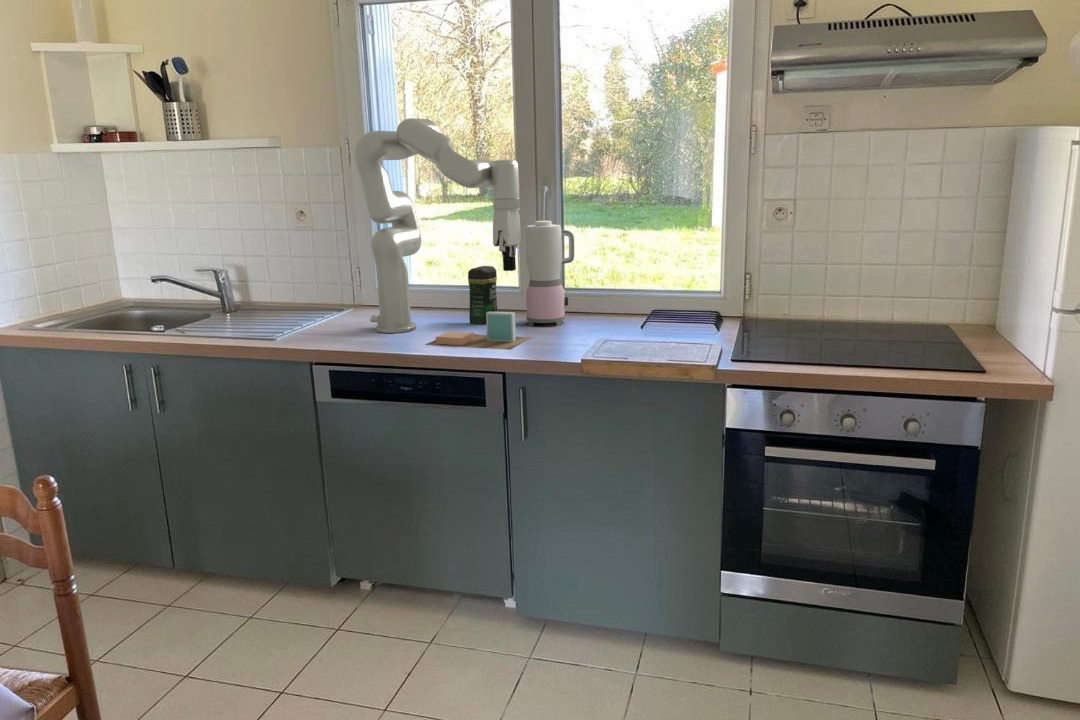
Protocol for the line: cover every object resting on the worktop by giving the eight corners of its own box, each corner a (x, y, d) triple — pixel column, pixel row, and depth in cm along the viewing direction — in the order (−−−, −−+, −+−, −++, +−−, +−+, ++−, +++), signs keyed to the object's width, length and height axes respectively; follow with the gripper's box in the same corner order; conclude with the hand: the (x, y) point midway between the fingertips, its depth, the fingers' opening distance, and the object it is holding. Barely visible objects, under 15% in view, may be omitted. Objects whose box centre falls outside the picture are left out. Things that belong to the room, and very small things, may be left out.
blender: (525, 327, 253) (522, 223, 246) (526, 319, 265) (523, 220, 258) (576, 326, 253) (574, 221, 246) (574, 318, 265) (573, 219, 258)
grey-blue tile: (487, 340, 232) (485, 312, 230) (490, 338, 234) (488, 311, 232) (512, 342, 229) (511, 313, 227) (515, 340, 231) (514, 312, 229)
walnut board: (425, 347, 229) (425, 344, 229) (451, 336, 244) (451, 332, 243) (510, 353, 220) (510, 349, 220) (532, 340, 234) (532, 337, 234)
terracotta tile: (449, 338, 236) (436, 344, 229) (449, 331, 235) (435, 336, 228) (474, 339, 233) (461, 345, 226) (474, 332, 233) (461, 338, 225)
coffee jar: (488, 328, 254) (485, 268, 250) (466, 326, 258) (463, 267, 253) (502, 322, 263) (500, 264, 258) (481, 320, 266) (478, 264, 262)
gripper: (504, 203, 237) (508, 267, 241) (483, 207, 223) (486, 273, 228) (528, 203, 234) (531, 267, 238) (508, 206, 221) (511, 274, 225)
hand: (509, 270), depth 233 cm, fingers closed
